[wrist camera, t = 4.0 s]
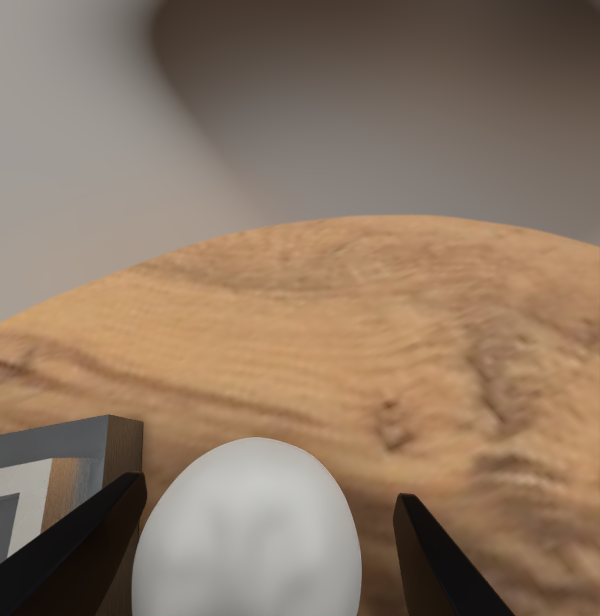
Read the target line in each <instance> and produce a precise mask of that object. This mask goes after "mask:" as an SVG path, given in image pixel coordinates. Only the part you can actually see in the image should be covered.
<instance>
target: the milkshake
mask: <svg viewBox="0 0 600 616" xmlns="http://www.w3.org/2000/svg"><path fill="white" fill-rule="evenodd" d="M361 583H362V561H361V552H360V545H359V540H358V536H357V531H356V528H355V524H354V520H353V517H352V514H351V511H350V508H349V506H348V503H347V501H346V499H345V496H344V494H343V492H342V491H341V489H340V487H339V485H338V484H337V482H336V481H335V479H334V478H333V477H332V475H331V474H330V473H329V471H328V470H327V469H326V468H325V467H324V466H323V465H322V464H321V463H320V462H319V461H318V460H317V459H316V458H315V457H313V456H312V455H311V454H309V453H308V452H306V451H304V450H302V449H300V448H298V447H296V446H293V445H291V444H288V443H285V442H281V441H278V440H274V439H269V438H261V437H252V438H244V439H239V440H235V441H231V442H228V443H226V444H223V445H221V446H218V447H216V448H214V449H212V450H211V451H209V452H207V453H205V454H204V455H202V456H201V457H199V458H198V459H197V460H195V461H194V462H193V463H191V464H190V465H189V466H188V467H187V468H186V469H185V470H184V471H183V472H182V473H181V474H180V475H179V476H178V477H177V478H176V479H175V480H174V482H173V483H172V484H171V485H170V486H169V488H168V489H167V490H166V492H165V493H164V494H163V496H162V497H161V499H160V500H159V501H158V503H157V504H156V506H155V508H154V509H153V511H152V513H151V514H150V516H149V518H148V520H147V522H146V524H145V527H144V529H143V531H142V534H141V537H140V539H139V543H138V546H137V550H136V554H135V558H134V564H133V572H132V616H357V613H358V608H359V602H360V594H361Z"/></svg>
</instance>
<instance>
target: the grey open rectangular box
mask: <svg viewBox="0 0 600 616" xmlns="http://www.w3.org/2000/svg"><path fill="white" fill-rule="evenodd" d="M142 439H143V422H141V421H136V420H132V419H127V418H123V417H118V416H114V415H109V414H108V415H103V416H98V417H93V418H87V419H82V420H77V421H71V422H66V423H61V424H56V425H50V426H45V427H40V428H34V429H29V430H24V431H19V432H13V433H8V434H3V435H0V563H1V562H3V561H4V560H5V559H7V558H8V557H10V556H11V555H12V554H14V553H15V552H16V551H18V550H19V549H20V548H22V547H23V546H25V545H26V544H27V543H29V542H30V541H31V540H33V539H34V538H36V537H37V536H38V535H40V534H41V533H42V532H44V531H45V530H46V529H48V528H49V527H51V526H52V525H53V524H55V523H56V522H57V521H59V520H60V519H62V518H63V517H64V516H66V515H67V514H68V513H70V512H71V511H73V510H74V509H75V508H77V507H78V506H79V505H81V504H82V503H83V502H85V501H86V500H88V499H89V498H90V497H92V496H93V495H94V494H96V493H97V492H99V491H100V490H101V489H103V488H104V487H105V486H107V485H108V484H110V483H111V482H112V481H114V480H115V479H116V478H118V477H119V476H120V475H122V474H123V473H125V472H127V471H139V472H141V461H142ZM138 530H139V521H138V523H137V526H136V528H135V531H134V533H133V536H132V538H131V540H130V543H129V545H128V548H127V550H126V552H125V555H124V557H123V560H122V562H121V564H120V567H119V569H118V571H117V573H116V576H115V578H114V580H113V582H112V584H111V586H110V588H109V590H108V592H107V594H106V596H105V598H104V599H103V601H102V603H101V605H100V607H99V609H98V611H97V613H96V615H95V616H132V572H133V564H134V558H135V554H136V550H137V546H138Z"/></svg>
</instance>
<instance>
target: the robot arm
mask: <svg viewBox="0 0 600 616" xmlns="http://www.w3.org/2000/svg"><path fill="white" fill-rule="evenodd" d="M146 500H147V489H146V482H145V476H144V473H143V472H139V471H127V472H125V473H123V474H122V475H120V476H119V477H118V478H116V479H115V480H114V481H112V482H111V483H110V484H108V485H107V486H105V487H104V488H103V489H101V490H100V491H99V492H97V493H96V494H94V495H93V496H92V497H90V498H89V499H88V500H86V501H85V502H83V503H82V504H81V505H79V506H78V507H77V508H75V509H74V510H73V511H71V512H70V513H68V514H67V515H66V516H64V517H63V518H62V519H60V520H59V521H57V522H56V523H55V524H53V525H52V526H51V527H49V528H48V529H46V530H45V531H44V532H42V533H41V534H40V535H38V536H37V537H36V538H34V539H33V540H31V541H30V542H29V543H27V544H26V545H25V546H23V547H22V548H20V549H19V550H18V551H16V552H15V553H14V554H12V555H11V556H10V557H8V558H7V559H5V560H4V561H3V562H1V563H0V616H95V615H96V613H97V611H98V609H99V607H100V605H101V603H102V601H103V599H104V598H105V596H106V594H107V592H108V590H109V588H110V586H111V584H112V582H113V580H114V578H115V576H116V573H117V571H118V569H119V567H120V564H121V562H122V560H123V557H124V555H125V552H126V550H127V548H128V545H129V543H130V540H131V538H132V536H133V533H134V531H135V528H136V526H137V523H138V521H139V519H140V516H141V514H142V511H143V509H144V507H145V504H146ZM393 526H394V532H395V538H396V545H397V551H398V557H399V564H400V570H401V576H402V582H403V588H404V594H405V600H406V605H407V609H408V613H409V616H515V615H514V613H513V612H512V611H511V610H510V609H509V607H508V606H507V605H506V604H505V602H504V601H503V600H502V599H501V598H500V596H499V595H498V594H497V593H496V592H495V590H494V589H493V588H492V587H491V586H490V584H489V583H488V582H487V581H486V579H485V578H484V577H483V576H482V575H481V573H480V572H479V571H478V570H477V569H476V567H475V566H474V565H473V564H472V563H471V561H470V560H469V559H468V558H467V556H466V555H465V554H464V553H463V552H462V550H461V549H460V548H459V547H458V546H457V544H456V543H455V542H454V541H453V540H452V538H451V537H450V536H449V535H448V534H447V532H446V531H445V530H444V529H443V527H442V526H441V525H440V524H439V523H438V521H437V520H436V519H435V518H434V517H433V515H432V514H431V513H430V512H429V511H428V509H427V508H426V507H425V506H424V504H423V503H422V502H421V501H420V500H419V498H418V497H417V496H416V495H414V494H407V493H400V494H399V495H398V497H397V501H396V505H395V510H394V515H393Z"/></svg>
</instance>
